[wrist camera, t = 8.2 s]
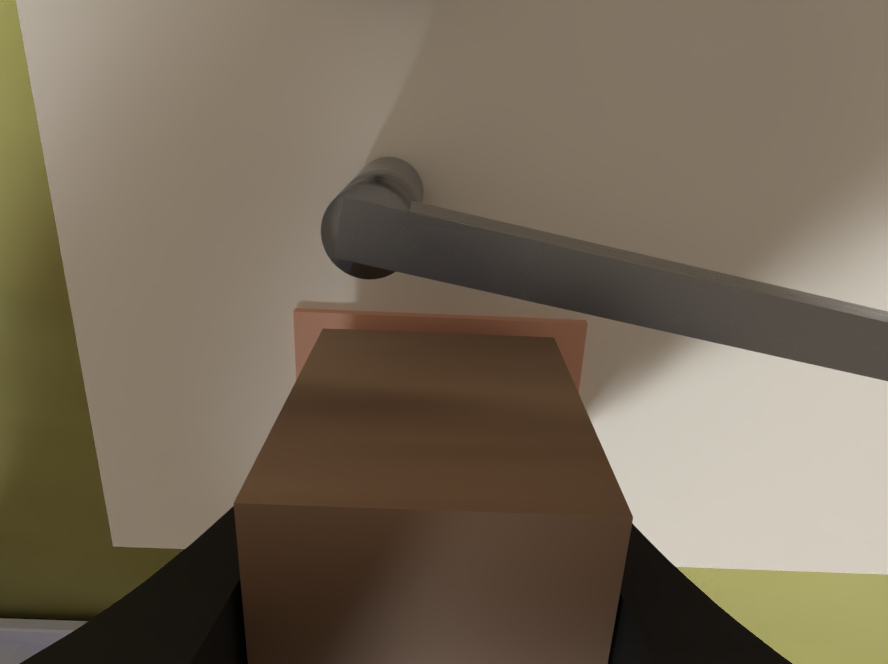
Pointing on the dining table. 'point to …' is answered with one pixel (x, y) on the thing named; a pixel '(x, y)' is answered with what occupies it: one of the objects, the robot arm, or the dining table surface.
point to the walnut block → (431, 509)
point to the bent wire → (589, 276)
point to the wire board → (486, 195)
